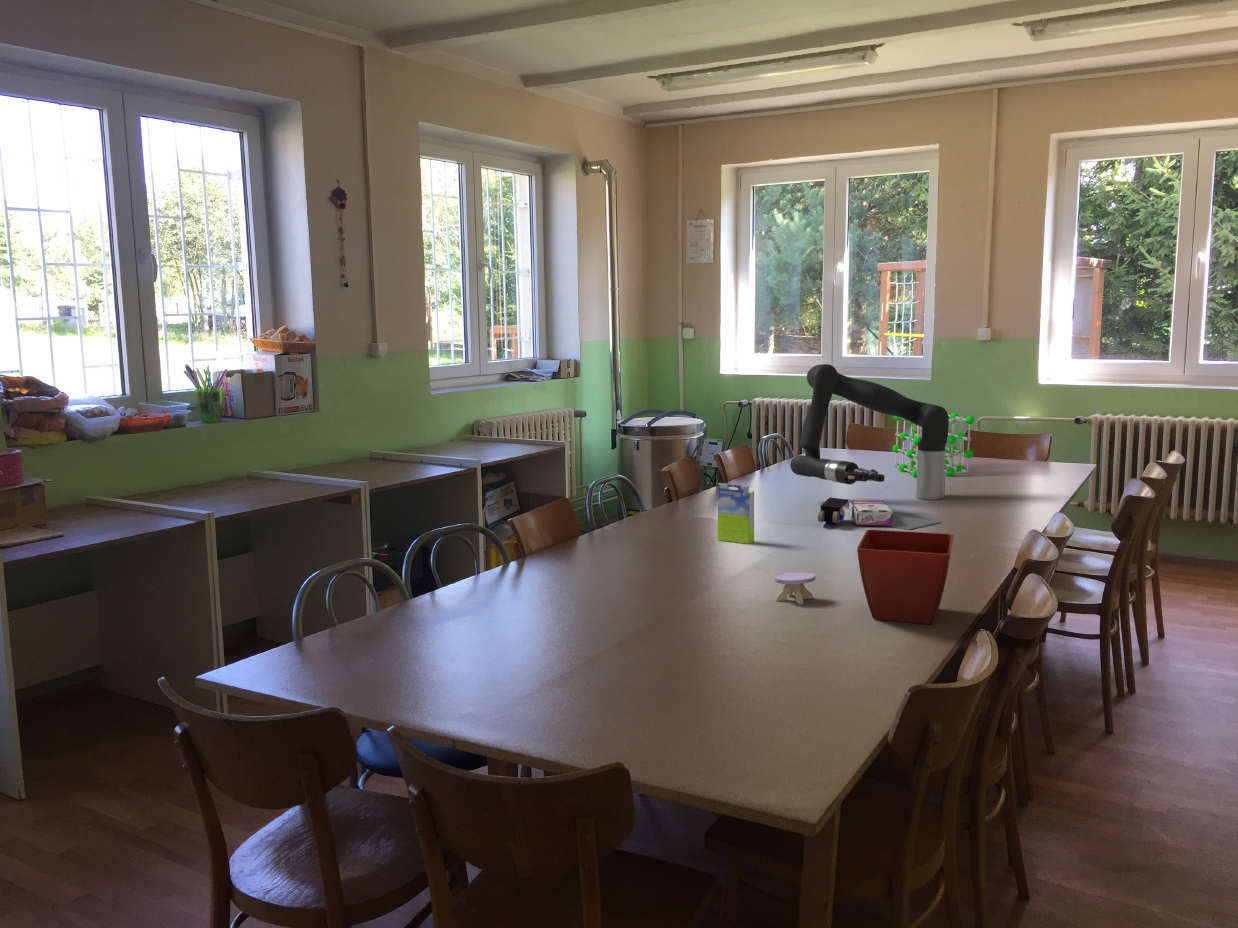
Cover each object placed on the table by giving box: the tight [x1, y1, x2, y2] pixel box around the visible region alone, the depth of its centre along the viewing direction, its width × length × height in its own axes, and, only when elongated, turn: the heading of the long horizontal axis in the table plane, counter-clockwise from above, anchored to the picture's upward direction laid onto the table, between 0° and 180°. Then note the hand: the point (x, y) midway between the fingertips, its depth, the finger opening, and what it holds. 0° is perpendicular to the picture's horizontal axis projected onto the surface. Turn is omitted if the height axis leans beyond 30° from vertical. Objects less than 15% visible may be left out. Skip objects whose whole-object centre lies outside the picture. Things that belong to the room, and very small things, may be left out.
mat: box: [885, 512, 942, 531], centre depth 310 cm, size 16×18×1 cm
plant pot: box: [856, 529, 954, 625], centre depth 216 cm, size 19×19×17 cm
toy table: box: [774, 572, 816, 606], centre depth 229 cm, size 10×9×6 cm
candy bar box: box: [848, 499, 894, 526], centre depth 310 cm, size 11×5×16 cm
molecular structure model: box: [892, 412, 975, 478], centre depth 399 cm, size 24×25×24 cm
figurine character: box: [817, 497, 849, 529], centre depth 307 cm, size 7×8×15 cm
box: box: [717, 482, 755, 545], centre depth 286 cm, size 11×4×17 cm, turn 58°
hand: (883, 478), depth 314 cm, fingers closed
